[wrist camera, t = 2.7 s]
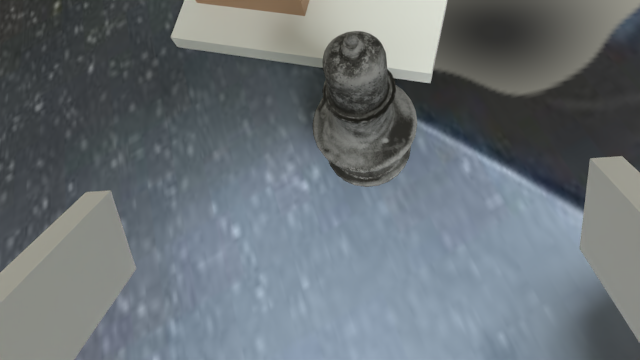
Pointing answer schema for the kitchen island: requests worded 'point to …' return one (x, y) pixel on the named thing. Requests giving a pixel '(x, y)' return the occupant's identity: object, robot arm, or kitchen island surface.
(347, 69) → the salt shaker
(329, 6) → the build board
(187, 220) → the kitchen island surface
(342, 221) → the kitchen island surface
